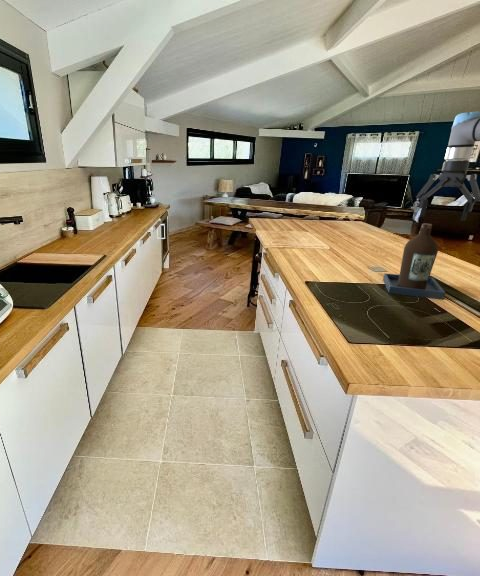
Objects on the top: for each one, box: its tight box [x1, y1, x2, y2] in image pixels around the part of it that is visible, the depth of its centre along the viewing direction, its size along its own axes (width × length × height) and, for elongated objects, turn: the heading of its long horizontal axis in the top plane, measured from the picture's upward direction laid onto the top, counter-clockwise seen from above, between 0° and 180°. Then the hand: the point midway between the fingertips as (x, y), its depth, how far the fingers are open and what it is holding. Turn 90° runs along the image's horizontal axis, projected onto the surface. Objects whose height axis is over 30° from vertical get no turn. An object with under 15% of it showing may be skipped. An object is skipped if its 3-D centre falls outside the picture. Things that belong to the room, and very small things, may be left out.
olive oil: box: [398, 223, 439, 290], centre depth 121 cm, size 11×11×25 cm
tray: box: [382, 272, 446, 300], centre depth 125 cm, size 18×17×3 cm
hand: (441, 218), depth 123 cm, fingers open, 13 cm apart
